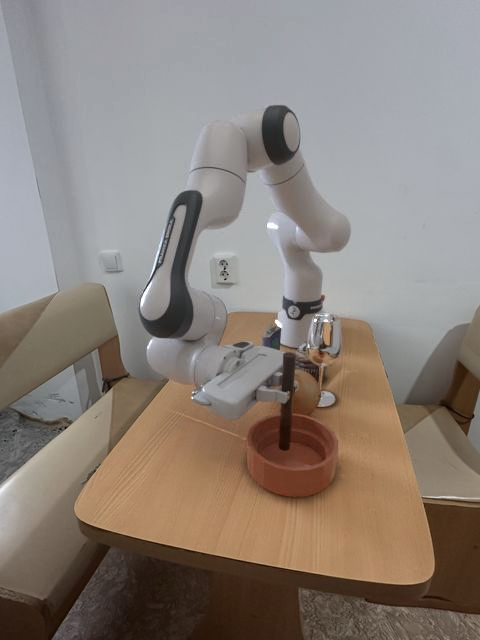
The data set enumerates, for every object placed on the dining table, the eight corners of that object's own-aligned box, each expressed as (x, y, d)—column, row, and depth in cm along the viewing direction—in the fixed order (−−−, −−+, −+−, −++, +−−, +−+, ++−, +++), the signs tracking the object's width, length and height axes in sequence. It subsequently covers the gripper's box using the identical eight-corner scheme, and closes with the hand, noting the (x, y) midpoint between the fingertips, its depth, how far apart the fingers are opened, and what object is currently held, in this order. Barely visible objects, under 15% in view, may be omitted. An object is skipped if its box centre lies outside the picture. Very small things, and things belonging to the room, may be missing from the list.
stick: (281, 442, 67) (286, 351, 59) (291, 445, 66) (298, 353, 58) (276, 448, 65) (280, 355, 58) (286, 452, 64) (292, 358, 57)
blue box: (268, 368, 101) (269, 331, 97) (258, 365, 102) (258, 329, 98) (281, 355, 108) (283, 320, 104) (272, 353, 110) (273, 319, 105)
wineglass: (314, 386, 92) (321, 309, 84) (342, 398, 87) (352, 317, 78) (294, 398, 87) (300, 317, 79) (323, 411, 82) (331, 326, 74)
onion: (317, 429, 76) (321, 386, 72) (269, 421, 79) (271, 380, 74) (321, 404, 85) (325, 364, 80) (278, 397, 87) (280, 359, 83)
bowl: (272, 429, 76) (273, 404, 74) (346, 456, 69) (350, 429, 66) (230, 476, 64) (230, 448, 62) (315, 514, 57) (318, 484, 54)
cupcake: (300, 366, 102) (302, 332, 98) (333, 376, 97) (337, 340, 93) (282, 379, 95) (283, 343, 91) (316, 391, 90) (319, 353, 86)
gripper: (183, 380, 58) (261, 406, 51) (250, 337, 73) (317, 352, 67) (186, 414, 60) (261, 443, 54) (250, 365, 76) (314, 383, 69)
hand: (292, 392), depth 60 cm, fingers closed on stick, 2 cm apart
